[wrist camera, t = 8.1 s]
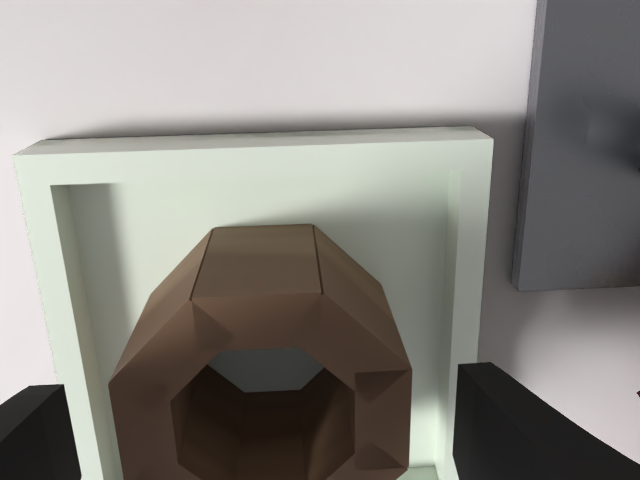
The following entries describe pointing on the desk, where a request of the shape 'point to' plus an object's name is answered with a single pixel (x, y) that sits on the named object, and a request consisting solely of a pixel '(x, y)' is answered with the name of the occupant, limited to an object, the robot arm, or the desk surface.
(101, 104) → the desk surface
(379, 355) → the collar
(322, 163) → the tray
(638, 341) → the desk surface
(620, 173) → the grey peg stand
